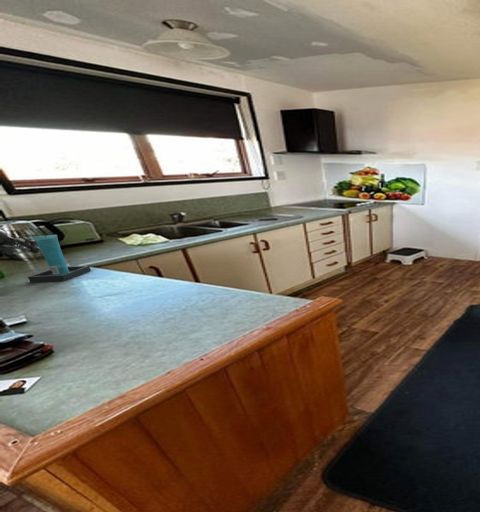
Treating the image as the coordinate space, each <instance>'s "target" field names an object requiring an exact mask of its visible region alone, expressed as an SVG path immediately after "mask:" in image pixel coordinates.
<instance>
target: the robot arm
mask: <svg viewBox="0 0 480 512" xmlns="http://www.w3.org/2000/svg"><path fill="white" fill-rule="evenodd" d="M17 244H18V245H17ZM36 244H37V243H36V241H32V240H31V239H28V238H26V237H24V236H21V235H20V236H19V235H18V236H17V238H15V237H12V236H8V234H7V232H6V231H4V230H2V229H1V228H0V253H2V254H4V255H7V256H13V254H14V252H15V251H14V250H13V249H15V250H21V249H22V250H27V251H28V252H30V253H33V254H35V255H36V254H39V252H40V248H39V247H36ZM10 248H11V249H10Z"/></svg>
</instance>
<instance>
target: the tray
mask: <svg viewBox="0 0 480 512" xmlns="http://www.w3.org/2000/svg"><path fill="white" fill-rule="evenodd" d="M67 267H68V270H69V273H67V274H64V275H53V273H52V271H51V269H50V268H49V269H47V270H44V271H42V272H38V273H35V274H32V275H29V276H27V279H28V280H29V282H30V283H42V282H66V281H68V280H70V279H73V278H75V277H78V276H81V275H84V274H86V273H88V272H90V271H92V269H91V267H90V265H71V266H68V265H67Z"/></svg>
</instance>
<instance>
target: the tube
mask: <svg viewBox="0 0 480 512" xmlns="http://www.w3.org/2000/svg"><path fill="white" fill-rule="evenodd" d="M32 238H33V240H34V242H35V243H36V244H37V246H38V249H39V251H40V252H41V253H42V255H43V257H44V260H45V261H46V263H47V265H48V267H49V270H50V269H51V271H52V273H53V275H64V274H67V273H69V270H68V267H67V266H68V264H67V261H66V260H65V257H64V253H63V252H62V249H61V246H60V242H59V238H58V234H49V235H36V236H32Z"/></svg>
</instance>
